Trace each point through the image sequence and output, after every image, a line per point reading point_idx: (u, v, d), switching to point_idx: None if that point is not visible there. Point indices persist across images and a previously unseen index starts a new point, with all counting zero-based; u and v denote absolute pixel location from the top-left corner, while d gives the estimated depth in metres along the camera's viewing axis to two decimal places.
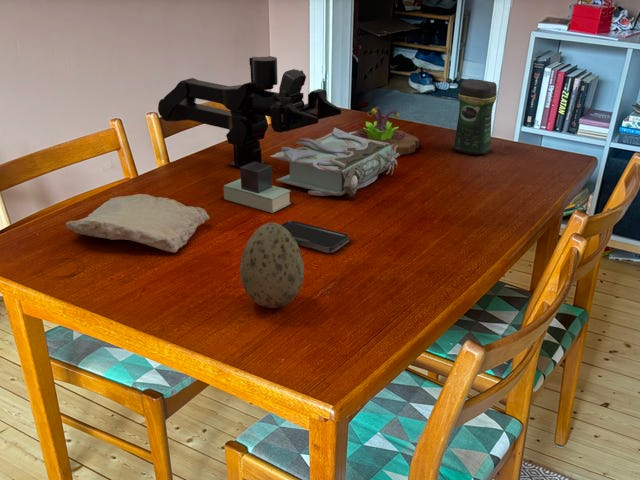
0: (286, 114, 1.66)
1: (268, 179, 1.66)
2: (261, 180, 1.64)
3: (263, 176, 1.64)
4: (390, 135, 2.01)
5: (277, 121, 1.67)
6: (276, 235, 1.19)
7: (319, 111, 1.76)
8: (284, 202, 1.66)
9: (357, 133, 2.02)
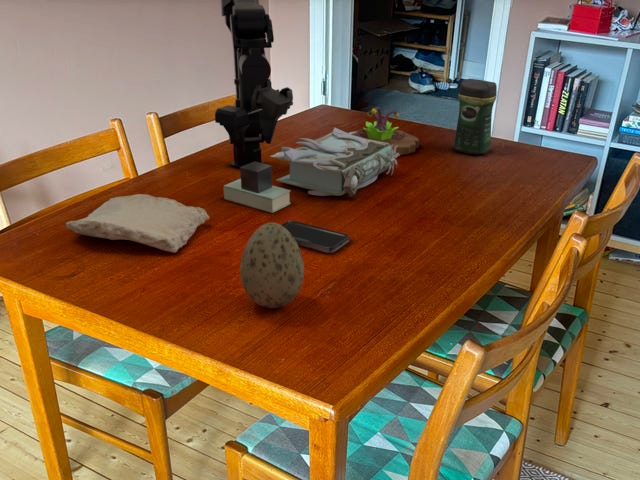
0: None
1: (268, 179, 1.66)
2: (261, 180, 1.64)
3: (263, 176, 1.64)
4: (390, 135, 2.01)
5: (222, 121, 1.52)
6: (276, 235, 1.19)
7: (265, 113, 1.63)
8: (284, 202, 1.66)
9: (357, 133, 2.02)
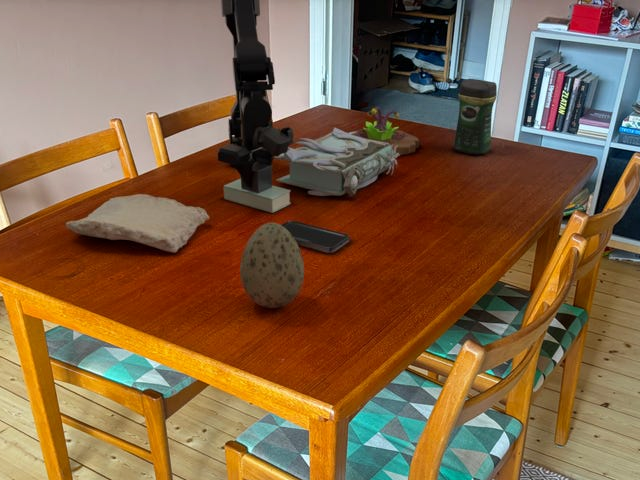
0: None
1: (268, 179, 1.66)
2: (261, 179, 1.64)
3: (263, 176, 1.64)
4: (390, 135, 2.01)
5: (225, 160, 1.56)
6: (276, 235, 1.19)
7: (260, 151, 1.66)
8: (284, 202, 1.66)
9: (357, 133, 2.02)
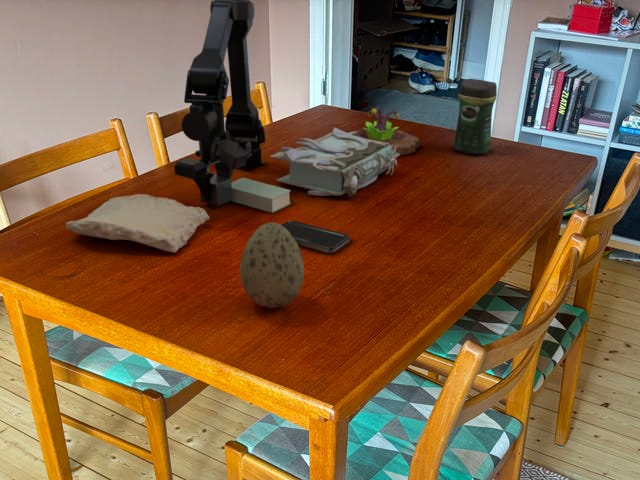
0: None
1: (228, 192, 1.65)
2: (220, 193, 1.63)
3: (222, 189, 1.63)
4: (390, 135, 2.01)
5: (181, 174, 1.56)
6: (276, 235, 1.19)
7: (220, 164, 1.65)
8: (284, 202, 1.66)
9: (357, 133, 2.02)
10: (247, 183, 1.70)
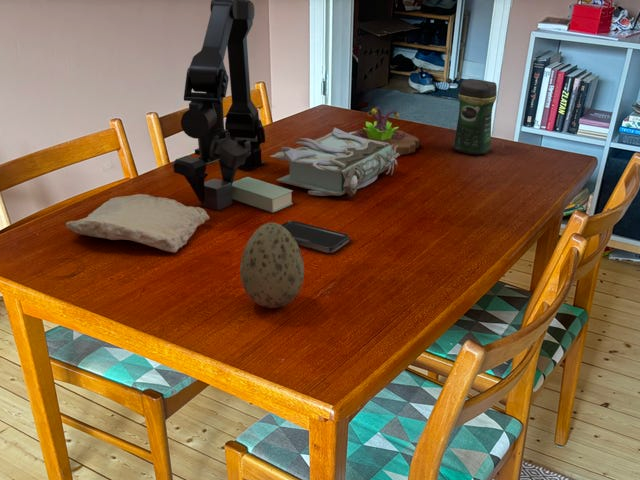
0: None
1: (228, 197, 1.66)
2: (221, 197, 1.64)
3: (222, 193, 1.64)
4: (390, 135, 2.01)
5: (180, 172, 1.55)
6: (276, 235, 1.19)
7: (224, 161, 1.66)
8: (286, 202, 1.66)
9: (357, 133, 2.02)
10: (250, 182, 1.70)
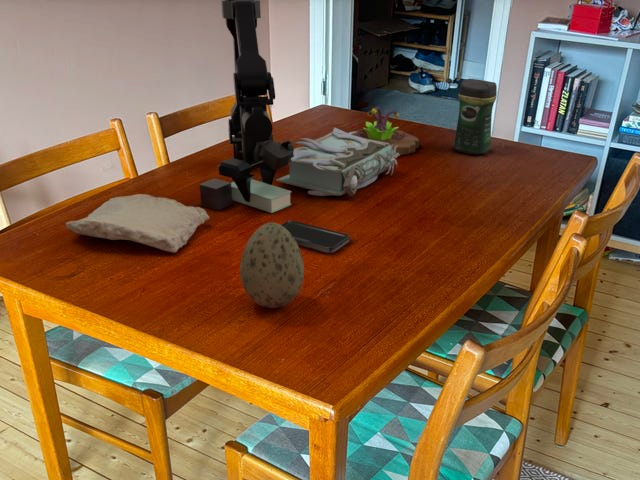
0: None
1: (228, 197, 1.66)
2: (221, 197, 1.64)
3: (222, 193, 1.64)
4: (390, 135, 2.01)
5: (226, 174, 1.58)
6: (276, 235, 1.19)
7: (264, 163, 1.69)
8: (284, 202, 1.66)
9: (357, 133, 2.02)
10: None
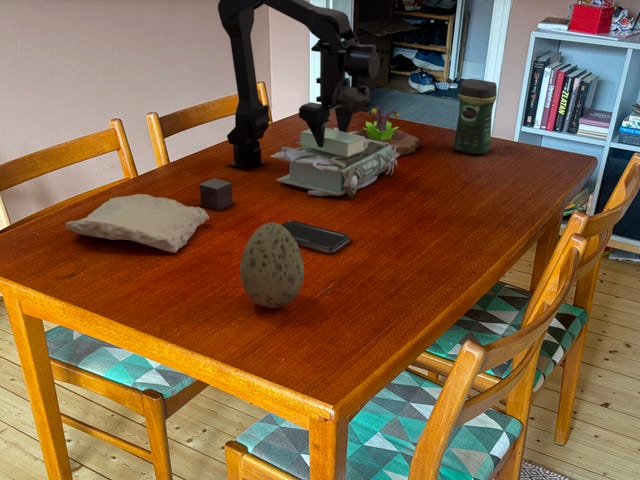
0: None
1: (228, 197, 1.66)
2: (221, 197, 1.64)
3: (222, 193, 1.64)
4: (390, 135, 2.01)
5: (306, 117, 1.65)
6: (276, 235, 1.19)
7: (340, 109, 1.76)
8: (359, 148, 1.73)
9: (357, 133, 2.02)
10: None
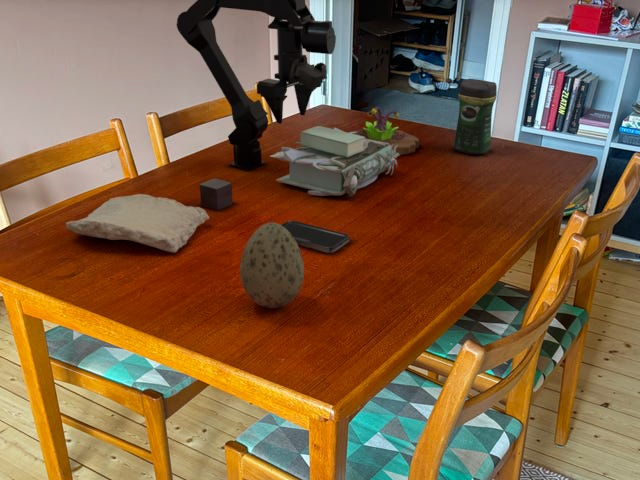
0: (273, 98, 1.70)
1: (228, 197, 1.66)
2: (221, 197, 1.64)
3: (222, 193, 1.64)
4: (390, 135, 2.01)
5: (264, 93, 1.69)
6: (276, 235, 1.19)
7: (299, 87, 1.80)
8: (358, 148, 1.73)
9: (357, 133, 2.02)
10: (323, 130, 1.77)
